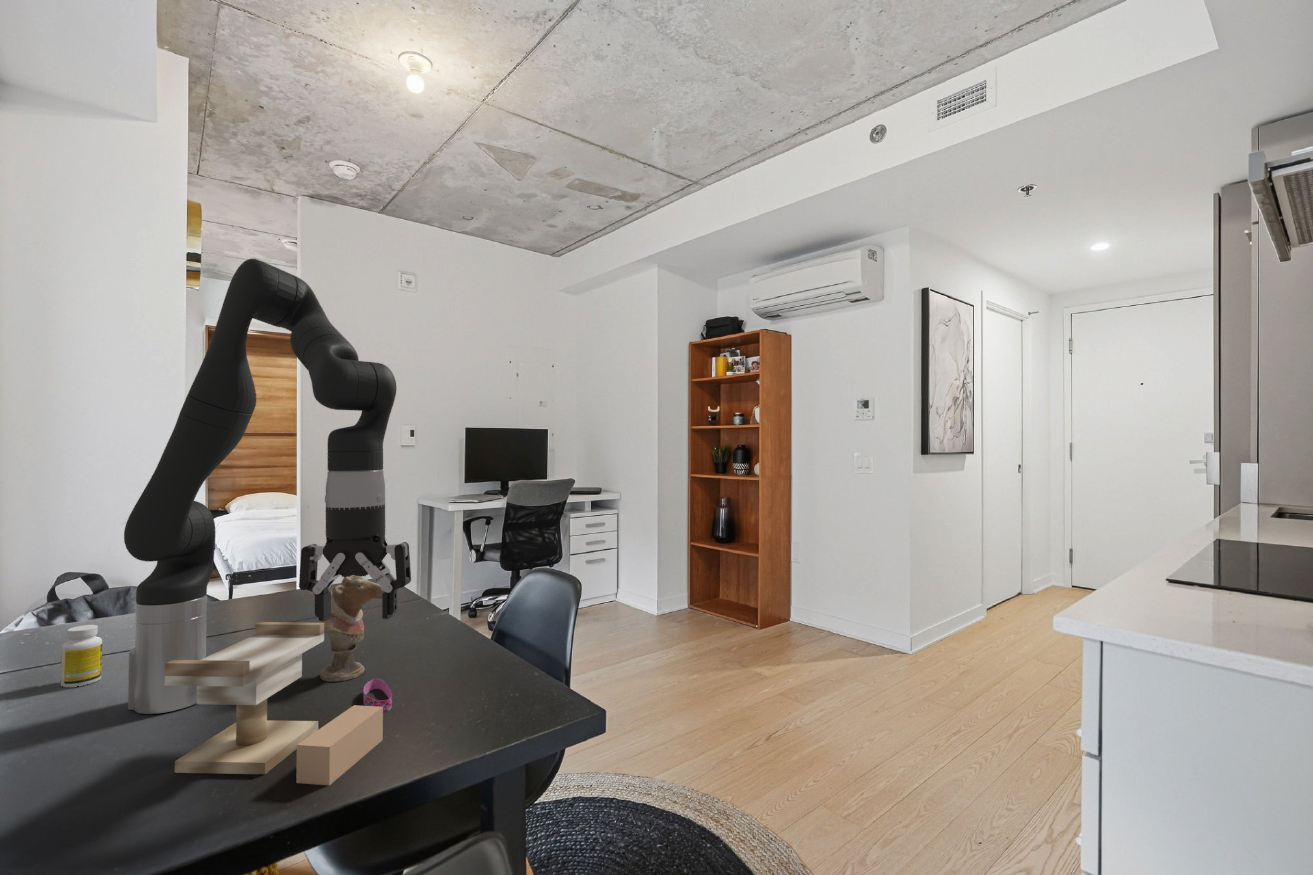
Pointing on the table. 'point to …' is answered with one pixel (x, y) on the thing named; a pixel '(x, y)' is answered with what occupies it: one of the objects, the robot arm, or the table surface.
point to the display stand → (248, 698)
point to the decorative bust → (347, 626)
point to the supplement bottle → (81, 657)
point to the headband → (379, 703)
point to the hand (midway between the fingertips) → (356, 618)
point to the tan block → (339, 745)
